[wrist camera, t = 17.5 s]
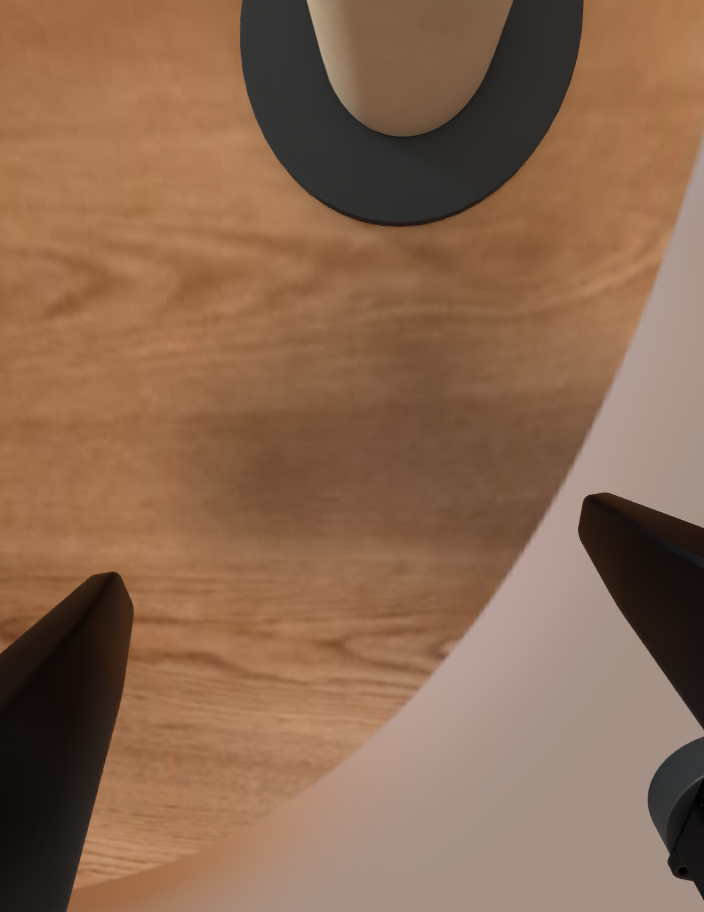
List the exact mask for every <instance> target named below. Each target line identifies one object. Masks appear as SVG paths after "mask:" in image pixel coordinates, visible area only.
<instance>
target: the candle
mask: <svg viewBox="0 0 704 912" xmlns="http://www.w3.org/2000/svg"><path fill="white" fill-rule="evenodd" d="M512 2H513V0H307V3H308V7H309V11H310V14H311V18H312V22H313V26H314V29H315V33H316V37H317V40H318V44H319V48H320V51H321V55H322V58H323V62H324V65H325V68H326V71H327V74H328V77H329V80H330V82H331V85H332V87H333V89H334V91H335V93H336V94H337V96H338V98H339V99H340V101H341V102H342V104H343V105H344V106H345V108H346V109H347V110H348V111H349V112H350V114H352V115H353V116H354V117H355V118H356V119H357V120H358V121H359V122H361V123H362V124H364V125H365V126H367V127H368V128H370V129H372V130H374V131H376V132H379V133H383V134H386V135H391V136H403V137H407V136H415V135H420V134H423V133H427V132H429V131H432V130H434V129H436V128H438V127H440V126H442V125H443V124H445V123H447V122H448V121H449V120H451V119H452V118H453V117H454V116H456V115H457V114H458V113H459V112H460V111H461V110H462V109H463V108H464V107H465V105H466V104H467V103H468V102H469V100H470V99H471V98H472V96H473V95H474V94H475V93H476V91H477V89H478V88H479V86H480V84H481V83H482V81H483V79H484V76H485V74H486V72H487V70H488V68H489V65H490V63H491V60H492V58H493V55H494V52H495V50H496V47H497V44H498V41H499V38H500V36H501V33H502V30H503V27H504V25H505V22H506V19H507V16H508V13H509V11H510V8H511V5H512Z"/></svg>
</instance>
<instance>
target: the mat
mask: <svg viewBox="0 0 704 912" xmlns="http://www.w3.org/2000/svg"><path fill="white" fill-rule="evenodd" d="M582 18H583V0H513V2H512V5H511V8H510V11H509V13H508V16H507V19H506V22H505V25H504V27H503V30H502V33H501V36H500V38H499V41H498V44H497V47H496V50H495V52H494V55H493V58H492V60H491V63H490V65H489V68H488V70H487V72H486V74H485V76H484V79H483V81H482V83H481V84H480V86H479V88H478V89H477V91H476V93H475V94H474V95H473V96H472V98H471V99H470V100H469V102H468V103H467V104H466V105H465V107H464V108H463V109H462V110H461V111H460V112H459V113H458V114H457V115H456V116H454V117H453V118H452V119H451V120H449V121H448V122H447V123H445V124H443V125H442V126H440V127H438V128H436V129H434V130H432V131H429V132H427V133H423V134H420V135H415V136H407V137H403V136H391V135H386V134H383V133H379V132H376V131H374V130H372V129H370V128H368V127H367V126H365V125H364V124H362V123H361V122H359V121H358V120H357V119H356V118H355V117H354V116H353V115H352V114H350V112H349V111H348V110H347V109H346V108H345V106H344V105H343V104H342V102H341V101H340V99H339V98H338V96H337V94H336V93H335V91H334V89H333V87H332V85H331V82H330V80H329V77H328V74H327V71H326V68H325V65H324V62H323V58H322V55H321V51H320V48H319V44H318V40H317V37H316V33H315V29H314V26H313V22H312V18H311V14H310V11H309V7H308V3H307V0H242V9H241V18H240V49H241V59H242V69H243V74H244V79H245V84H246V88H247V93H248V97H249V100H250V103H251V106H252V109H253V112H254V115H255V118H256V120H257V122H258V124H259V126H260V128H261V130H262V133H263V135H264V137H265V139H266V140H267V142H268V144H269V145H270V147H271V149H272V150H273V152H274V153H275V155H276V157H277V158H278V160H279V161H280V162H281V164H282V165H283V166H284V167H285V169H286V170H287V171H288V172H289V174H290V175H291V176H292V177H293V178H294V179H295V180H296V181H297V182H298V183H299V184H300V185H301V186H302V187H303V188H304V189H305V190H306V191H307V192H308V193H309V194H311V195H312V196H314V197H315V198H316V199H318V200H319V201H320V202H322V203H323V204H325V205H326V206H328V207H330V208H332V209H334V210H336V211H338V212H339V213H341V214H343V215H346V216H349V217H352V218H354V219H357V220H360V221H364V222H369V223H373V224H378V225H390V226H408V225H420V224H425V223H429V222H434V221H438V220H442V219H444V218H447V217H450V216H452V215H455V214H458V213H460V212H462V211H464V210H466V209H468V208H470V207H471V206H473V205H475V204H477V203H479V202H480V201H482V200H483V199H485V198H486V197H487V196H489V195H490V194H492V193H493V192H495V191H496V190H497V189H498V188H499V187H501V186H502V185H503V184H504V183H505V182H506V181H507V180H508V179H509V178H511V177H512V176H513V175H514V174H515V173H516V171H517V170H518V169H519V168H520V167H521V166H522V165H523V163H524V162H525V161H526V160H527V159H528V158H529V157H530V155H531V154H532V153H533V151H534V150H535V149H536V147H537V146H538V144H539V143H540V141H541V140H542V138H543V137H544V136H545V134H546V133H547V131H548V129H549V128H550V126H551V124H552V122H553V120H554V118H555V116H556V115H557V113H558V111H559V109H560V107H561V104H562V102H563V99H564V97H565V94H566V92H567V89H568V87H569V84H570V81H571V78H572V74H573V71H574V67H575V64H576V60H577V56H578V50H579V44H580V38H581V32H582Z"/></svg>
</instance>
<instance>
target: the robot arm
mask: <svg viewBox="0 0 704 912" xmlns="http://www.w3.org/2000/svg"><path fill="white" fill-rule="evenodd" d="M578 533H579V537H580V540H581V542H582V544H583V545H584V547H585V549H586V551H587V553H588V555H589V556H590V558H591V560H592V562H593V564H594V566H595V567H596V569H597V571H598V573H599V574H600V576H601V578H602V580H603V582H604V583H605V585H606V587H607V589H608V591H609V593H610V594H611V596H612V598H613V599H614V601H615V603H616V604H617V606H618V607H619V609H620V611H621V612H622V614H623V615H624V617H625V618H626V619H627V621H628V622H629V624H630V625H631V627H632V628H633V629H634V631H635V632H636V634H637V635H638V636H639V638H640V639H641V641H642V642H643V644H644V645H645V646H646V648H647V649H648V651H649V652H650V654H651V655H652V657H653V658H654V659H655V661H656V662H657V664H658V665H659V667H660V668H661V670H662V671H663V672H664V674H665V675H666V677H667V678H668V680H669V681H670V682H671V684H672V685H673V687H674V688H675V690H676V691H677V692H678V694H679V695H680V697H681V698H682V700H683V701H684V702H685V704H686V705H687V707H688V708H689V710H690V711H691V712H692V714H693V715H694V717H695V718H696V720H697V721H698V722H699V724H700V725H701V727H702V728H703V730H704V528H702V527H699V526H697V525H694V524H691V523H688V522H686V521H683V520H681V519H678V518H675V517H672V516H670V515H667V514H664V513H662V512H659V511H656V510H653V509H651V508H648V507H645V506H643V505H640V504H637V503H634V502H632V501H629V500H627V499H624V498H621V497H619V496H616V495H613V494H610V493H598V494H592V495H588V496H586V497H585V499H584V501H583V504H582V510H581V516H580V521H579V527H578ZM133 617H134V609H133V604H132V601H131V599H130V596H129V594H128V592H127V589H126V587H125V585H124V583H123V580H122V578H121V576H120V575H119V574H118V573H117V572H106V573H100V574H95V575H92V576H91V577H90V578H88V579H87V580H86V581H85V582H84V583H82V584H81V585H80V586H79V587H78V588H77V589H75V590H74V591H73V592H72V593H71V594H70V595H68V596H67V597H66V598H65V599H64V600H63V601H61V602H60V603H59V604H58V605H57V606H56V607H54V608H53V609H52V610H51V611H50V612H49V613H47V614H46V615H45V616H44V617H43V618H42V619H40V620H39V621H38V622H37V623H36V624H35V625H33V626H32V627H31V628H30V629H29V630H28V631H26V632H25V633H24V634H23V635H22V636H21V637H19V638H18V639H17V640H16V641H15V642H14V643H12V644H11V645H10V646H9V647H8V648H7V649H5V650H4V651H3V652H2V653H1V654H0V912H66V911H67V907H68V903H69V900H70V896H71V892H72V888H73V884H74V880H75V877H76V873H77V869H78V865H79V861H80V857H81V853H82V849H83V846H84V842H85V838H86V834H87V830H88V826H89V822H90V819H91V815H92V811H93V807H94V803H95V799H96V795H97V792H98V788H99V784H100V780H101V776H102V772H103V768H104V764H105V761H106V757H107V753H108V749H109V745H110V741H111V737H112V734H113V730H114V726H115V722H116V718H117V714H118V710H119V706H120V702H121V698H122V693H123V687H124V681H125V673H126V666H127V659H128V652H129V645H130V638H131V631H132V624H133ZM668 865H669V867H670V869H671V871H672V873H673V875H674V876H675V877H677V878H680V879H684V880H690V881H694V883H695V885H696V887H697V889H698V891H699V892H700V894H701V896H702V898H703V900H704V778H703V780H702V783H701V785H700V787H699V789H698V792H697V794H696V796H695V799H694V801H693V803H692V806H691V808H690V810H689V812H688V815H687V817H686V819H685V822H684V824H683V826H682V829H681V831H680V833H679V835H678V838H677V840H676V842H675V845H674V847H673V849H672V852H671V854H670V856H669V858H668Z"/></svg>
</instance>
